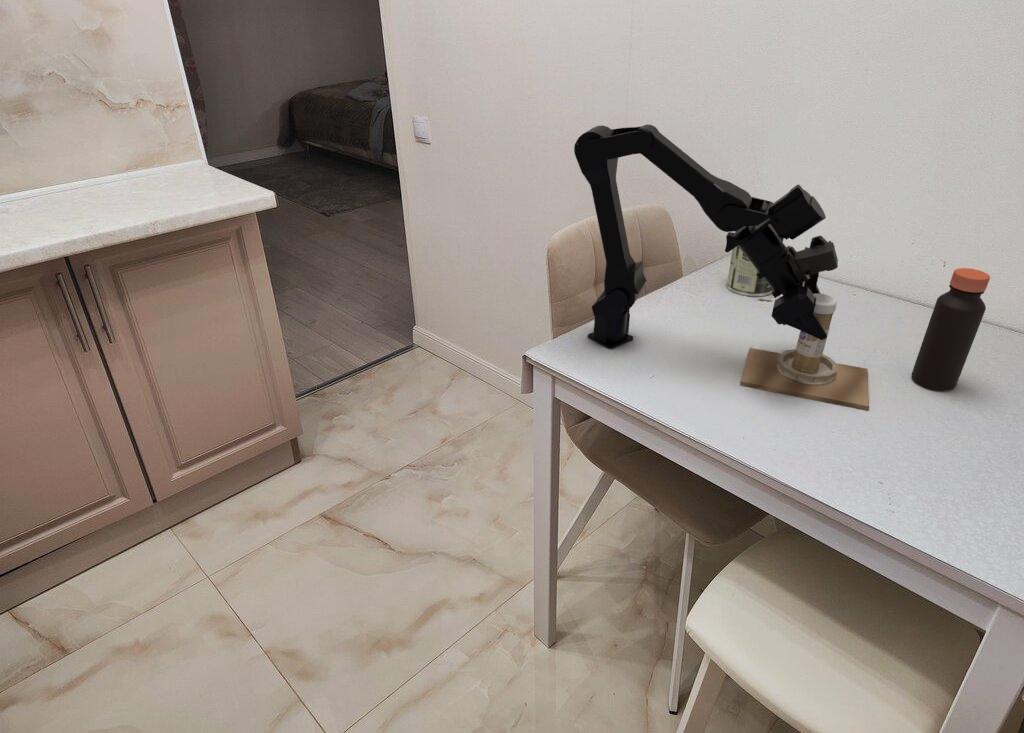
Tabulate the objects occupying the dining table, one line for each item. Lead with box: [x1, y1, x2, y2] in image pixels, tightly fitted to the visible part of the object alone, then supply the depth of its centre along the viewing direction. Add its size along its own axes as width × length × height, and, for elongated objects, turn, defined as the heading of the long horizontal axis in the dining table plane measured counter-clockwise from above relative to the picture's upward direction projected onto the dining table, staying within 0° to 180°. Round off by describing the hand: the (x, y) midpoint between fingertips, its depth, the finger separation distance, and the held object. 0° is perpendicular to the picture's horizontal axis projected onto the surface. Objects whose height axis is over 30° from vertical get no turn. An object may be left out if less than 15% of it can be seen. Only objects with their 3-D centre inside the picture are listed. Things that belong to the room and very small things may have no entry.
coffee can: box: [726, 224, 784, 298], centre depth 146 cm, size 10×10×14 cm
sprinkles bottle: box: [792, 293, 838, 374], centre depth 113 cm, size 5×5×13 cm
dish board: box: [739, 347, 870, 411], centre depth 115 cm, size 20×13×2 cm, turn 66°
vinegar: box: [911, 267, 991, 392], centre depth 110 cm, size 7×7×20 cm
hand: (825, 326), depth 112 cm, fingers open, 9 cm apart
